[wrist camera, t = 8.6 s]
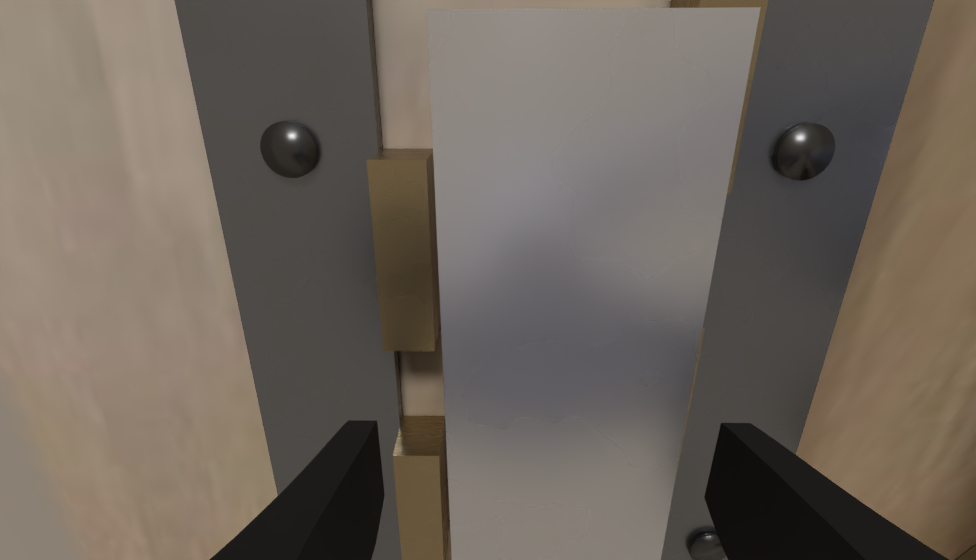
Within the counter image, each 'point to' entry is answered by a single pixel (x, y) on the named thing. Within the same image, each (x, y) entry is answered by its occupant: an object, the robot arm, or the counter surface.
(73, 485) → the counter surface
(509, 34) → the aluminum bar stock
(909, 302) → the counter surface
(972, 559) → the cork
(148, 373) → the counter surface
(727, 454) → the robot arm
